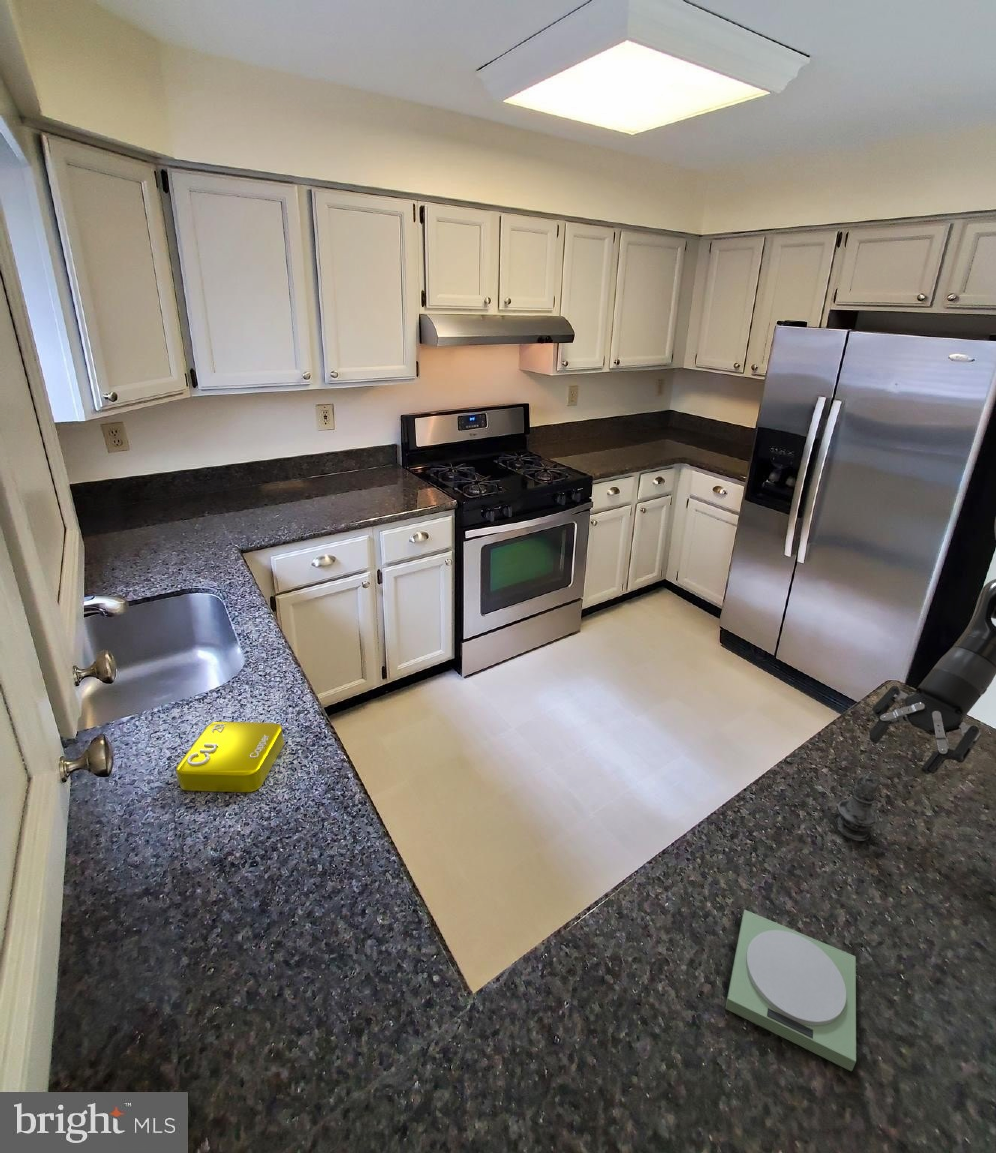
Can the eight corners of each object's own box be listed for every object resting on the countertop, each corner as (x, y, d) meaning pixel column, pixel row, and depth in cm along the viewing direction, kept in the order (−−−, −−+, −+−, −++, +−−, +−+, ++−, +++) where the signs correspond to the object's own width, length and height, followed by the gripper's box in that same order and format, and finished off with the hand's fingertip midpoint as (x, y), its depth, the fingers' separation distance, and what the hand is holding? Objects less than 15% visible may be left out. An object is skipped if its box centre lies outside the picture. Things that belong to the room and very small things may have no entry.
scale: (852, 966, 80) (857, 952, 79) (851, 1072, 69) (858, 1057, 67) (741, 918, 86) (745, 905, 85) (725, 1008, 75) (728, 994, 74)
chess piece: (875, 846, 98) (896, 790, 93) (836, 836, 100) (854, 781, 95) (867, 820, 103) (886, 765, 99) (830, 811, 105) (847, 757, 100)
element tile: (258, 794, 107) (254, 773, 105) (175, 791, 107) (170, 770, 105) (287, 739, 121) (284, 720, 119) (214, 737, 121) (210, 718, 119)
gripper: (908, 651, 104) (851, 724, 103) (1003, 694, 92) (939, 775, 92) (917, 670, 108) (862, 739, 108) (1008, 712, 96) (947, 791, 96)
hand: (897, 756), depth 100 cm, fingers open, 8 cm apart
